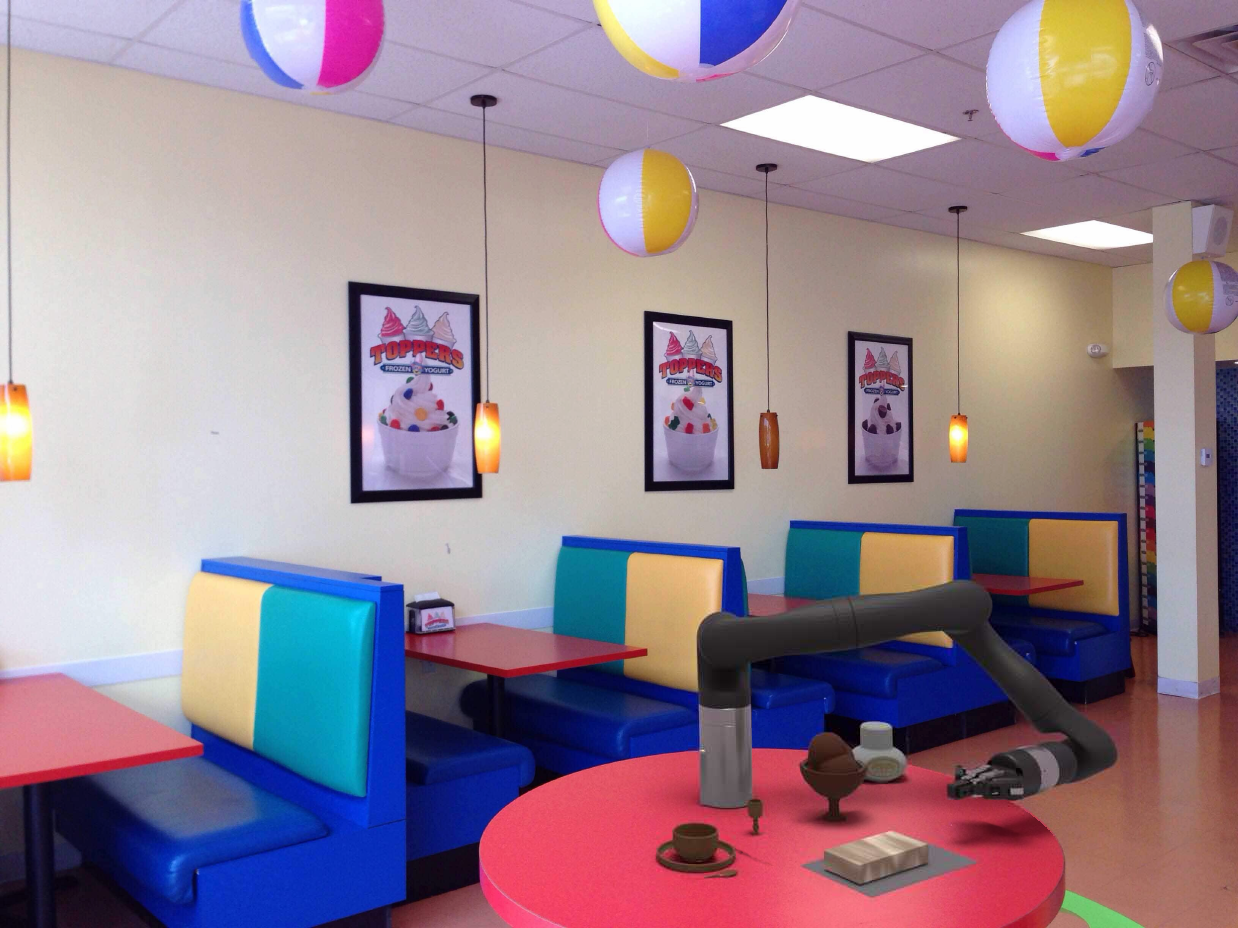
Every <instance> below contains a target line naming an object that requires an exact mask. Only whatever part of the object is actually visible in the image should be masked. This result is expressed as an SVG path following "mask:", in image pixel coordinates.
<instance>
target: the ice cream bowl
mask: <svg viewBox="0 0 1238 928" xmlns="http://www.w3.org/2000/svg"><path fill="white" fill-rule="evenodd" d="M807 750H808V752H807V758H805V759H804V760H802V761H800V762H799V763H798V766H799V770H800V771H799V772H800V774H801V775H802V778H803V781H804V782H805V783H807V785H808V786H809V787H811V789H812V790H813V791H814V792H815V793H817V795H820V796H821V797H824V798H826V799H827V801H828V811H826V812H824V813H822V814H821V815H820V816H818V818H817V821H820V820H823V821H825V822H826V821H827V822H829V823H841V822H846V821H847V820H849V817H848V816H847V815H846V814H844V813H843V812H841V811H840V802H841V799H843V798H847V797H849V796H850V795H851V794H853V793H854V792H855V791H857V789H858V788H859V787H860V786H861V785H862V784H863V783H864V781H865V780H866V779H865V777H866V773H867V767H868V766H866V765H865V764H864V763H863V762H861V761H860V760H855V757H854V753H853V752H852V750H853V749H852V747H850V746H849V745H848V744H847V743H846V741H844V739H842V738H841V736H839V735H838V734H836V733H835V732H831V731H830V732H825V731H823V732H821V733H818V734H816V735H814V737H813V738H811V739H810V742H809V745H808V747H807Z"/></svg>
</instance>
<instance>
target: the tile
mask: <svg viewBox="0 0 1238 928" xmlns="http://www.w3.org/2000/svg"><path fill="white" fill-rule="evenodd" d="M905 835H906V834H902V833H899V832H897V831H893V830H889V831H886V832H882V833H878V834H876V835H872V836H868V837H866V838H862V839H858V840H854V841H850V842H847V843H845V844H844V843H843V844H840V845H837V846H833V847H830V848H827V849H824V850H823V858H824V869H827V870H828V871H830V872H832V873H834V874H837V875H839V876H841V877H844V878H846V879H848V880H850V881H853V882H855V883H857V884H859V885H862V884H865V883H868V882H871V881H874V880H877V879H880V878H884V877H887V876H890V875H893V874H896V873H899V872H902V871H905V870H909V869H912V868H915V867H918V866H921V865H924V864H926V863H927V862H929V844H930V843H929V844H927V843H928V842H926V843H924V842H925V841H924V842H922V841H923V840H921V841H919V840H920V839H918V840H916V839H917V838H916V839H913V838H914V837H913V838H911V837H912V836H910V837H908V836H909V835H907V836H905Z"/></svg>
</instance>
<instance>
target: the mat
mask: <svg viewBox="0 0 1238 928" xmlns="http://www.w3.org/2000/svg"><path fill="white" fill-rule="evenodd" d="M904 835H905V836H908V837H911V838H913V839H916V840H919V841H922V842H924V843H927V844H929V862H927V863H926V864H924V865H921V866H918V867H915V868H912V869H909V870H905V871H902V872H899V873H896V874H893V875H890V876H887V877H884V878H880V879H877V880H874V881H871V882H868V883H865V884H862V885H859V884H857V883H855V882H853V881H850V880H848V879H846V878H844V877H841V876H839V875H837V874H834V873H832V872H830V871H828V870H827V869H824V857H823V858H820V859H817V860H813V861H809V862H806V863H803V864H800V866H801V867H802V868H804V869H806V870H809V871H811V872H814V873H816V874H818V875H820V876H822V877H824V878H827V879H829V880H830V881H831V880H832V881H833V882H836V883H838V884H840V885H842V886H845V887H847V888H849V889H851V890H854V891H856V892H858V893H861V894H863V895H865V896H867V897H870V898H875V897H879V896H881V895H885V894H887V893H890V892H893V891H896V890H899V889H902V888H906V887H908V886H911V885H915V884H917V883H919V882H923V881H926V880H929V879H932V878H935V877H938V876H942V875H945V874H948V873H950V872H953V871H956V870H959V869H962V868H965V867H968V866H971V865H974V864H977V863H979V861H978V860H975V859H972V858H969V857H968V856H965V855H961V854H960V853H956V852H954V851H950V850H947V849H946V848H942V847H940V846H936V845H934V844H932V843H930V842H926V841H924V840H921V839H918V838H916V837H912V836H909V835H907V834H904ZM800 866H799V867H800Z"/></svg>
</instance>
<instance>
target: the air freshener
mask: <svg viewBox="0 0 1238 928" xmlns="http://www.w3.org/2000/svg"><path fill="white" fill-rule="evenodd" d="M859 729H860V734H859V735H860V738H859V739H860V745H857V746H856V747H854V748H853V749H852V752H853V753H854V757H855V760H860V761H861V762H863V763H864V764H865V765H866V766H868V767H867V773H866V777H865V779H864V780H866V781H868V782H869V781H870V782H873V783H888V782H890V781H892V780H895V779H898V778H899V777H900V776H902V775H903V774H904V772H906V770H907V767H908V762H907V758H906V756H905V754H904V753H903V752H902V751H901V750H899V749H898V748H896V747H895V746H893V744H894V743H893V726H892V725H891V724H890V723H887V722H883V721H882V722H881V721H866V722H865V721H864V722H862V723H861V725H860V726H859Z"/></svg>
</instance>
